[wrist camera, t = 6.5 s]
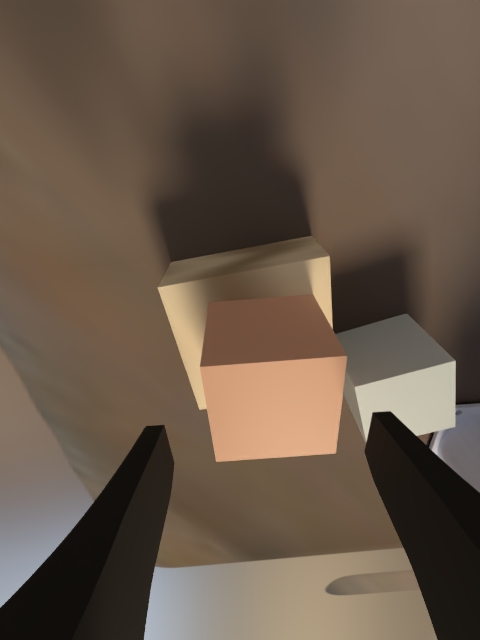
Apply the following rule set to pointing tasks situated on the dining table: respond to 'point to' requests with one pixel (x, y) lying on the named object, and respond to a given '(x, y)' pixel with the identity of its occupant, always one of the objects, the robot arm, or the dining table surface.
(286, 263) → the maple block
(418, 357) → the off-white cube
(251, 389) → the terracotta cube
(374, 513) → the dining table surface
